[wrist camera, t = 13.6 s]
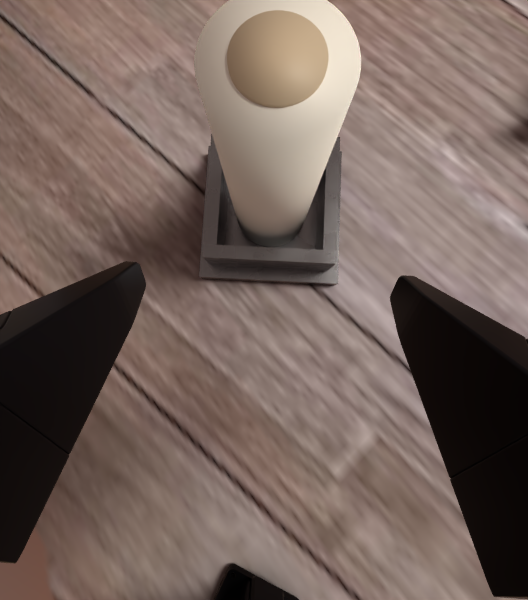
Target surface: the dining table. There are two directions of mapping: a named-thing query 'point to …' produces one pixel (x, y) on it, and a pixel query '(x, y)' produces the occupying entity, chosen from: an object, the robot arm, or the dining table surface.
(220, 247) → the holder
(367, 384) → the dining table surface
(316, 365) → the dining table surface
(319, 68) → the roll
